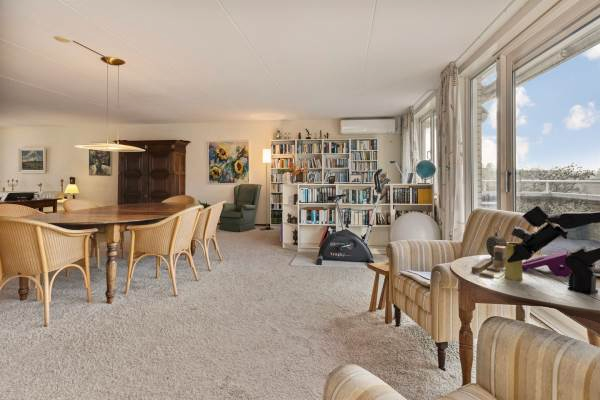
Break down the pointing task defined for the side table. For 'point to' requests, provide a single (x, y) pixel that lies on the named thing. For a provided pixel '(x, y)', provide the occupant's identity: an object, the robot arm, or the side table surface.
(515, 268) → the vase
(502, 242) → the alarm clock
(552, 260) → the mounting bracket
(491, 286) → the side table surface
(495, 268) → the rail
